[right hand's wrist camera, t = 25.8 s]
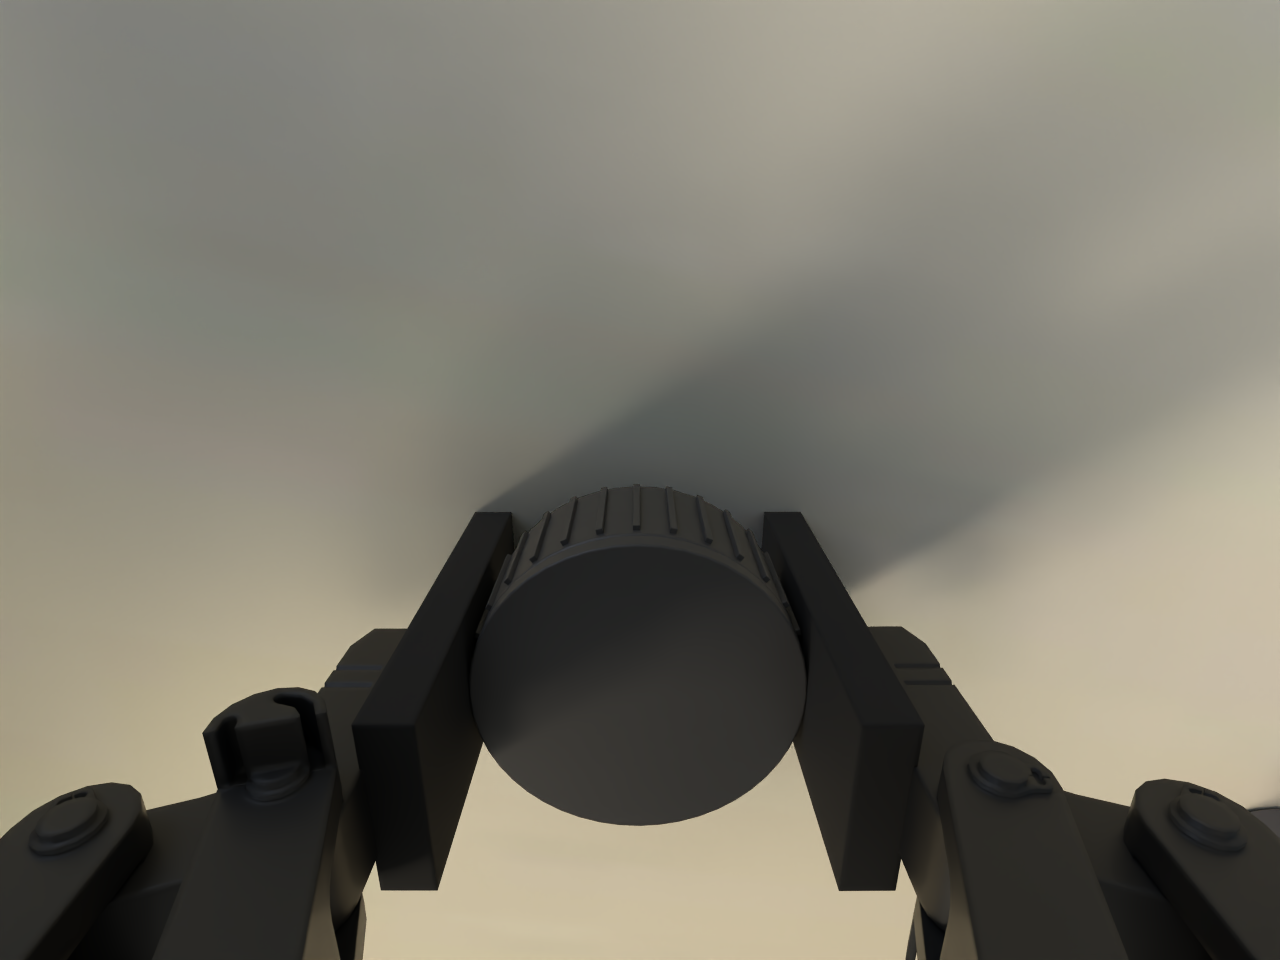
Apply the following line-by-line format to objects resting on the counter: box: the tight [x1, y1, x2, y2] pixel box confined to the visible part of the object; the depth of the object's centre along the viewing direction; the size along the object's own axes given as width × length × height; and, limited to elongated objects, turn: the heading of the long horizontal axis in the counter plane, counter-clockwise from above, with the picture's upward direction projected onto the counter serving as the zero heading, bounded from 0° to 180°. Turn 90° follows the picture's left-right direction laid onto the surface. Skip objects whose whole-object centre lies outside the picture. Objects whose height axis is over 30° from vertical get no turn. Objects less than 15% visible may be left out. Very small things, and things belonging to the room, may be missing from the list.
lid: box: [469, 484, 807, 826], centre depth 12 cm, size 6×6×2 cm
